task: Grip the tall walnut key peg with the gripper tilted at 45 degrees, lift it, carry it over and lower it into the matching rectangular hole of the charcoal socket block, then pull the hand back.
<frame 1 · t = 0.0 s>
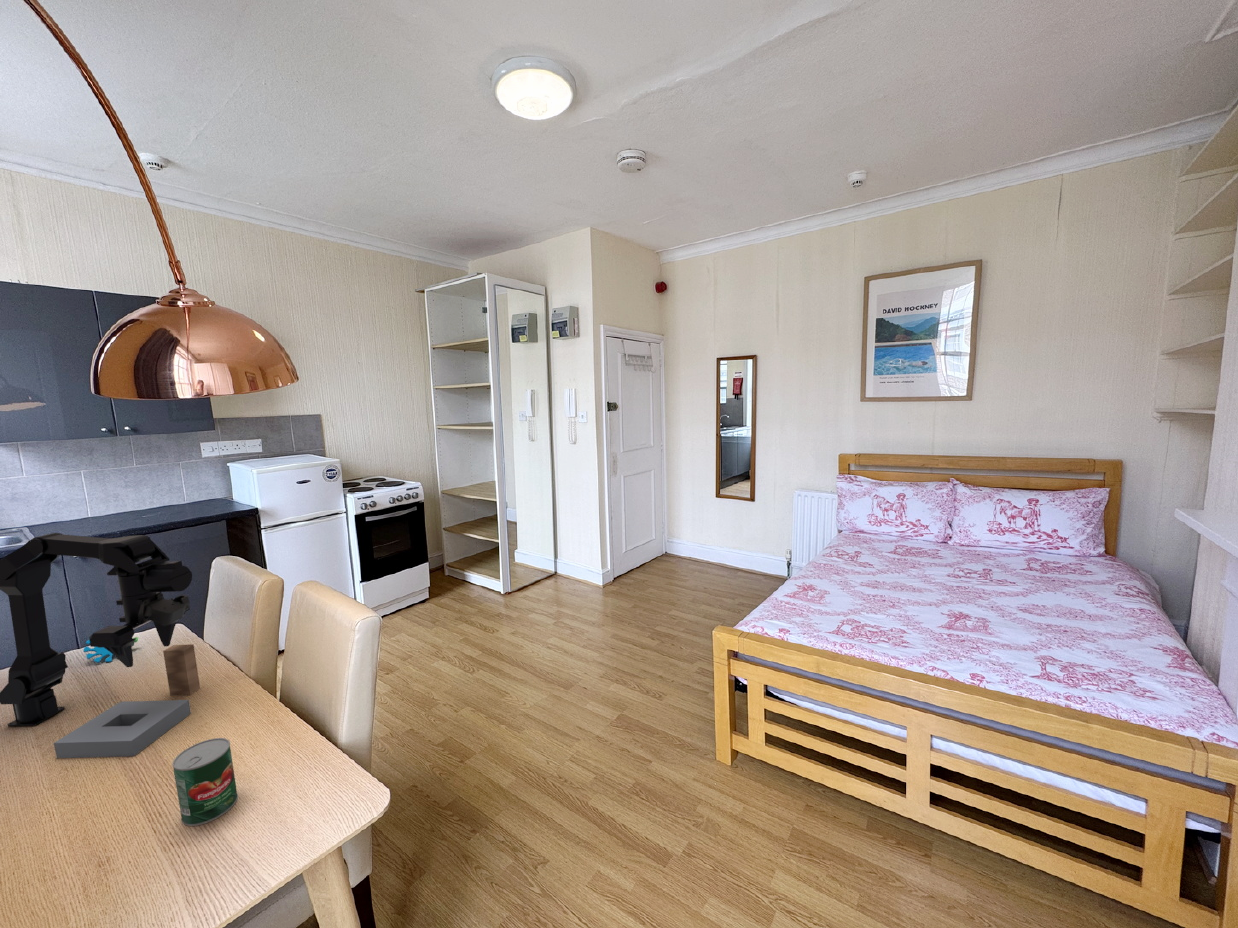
hand: (149, 656, 115), 15 cm above the table, tool pointing down, fingers open, 9 cm apart
walnut peg: (185, 691, 126), on the table
canned tomato: (210, 808, 89), on the table
socket block: (128, 734, 110), on the table
gear: (113, 657, 144), on the table
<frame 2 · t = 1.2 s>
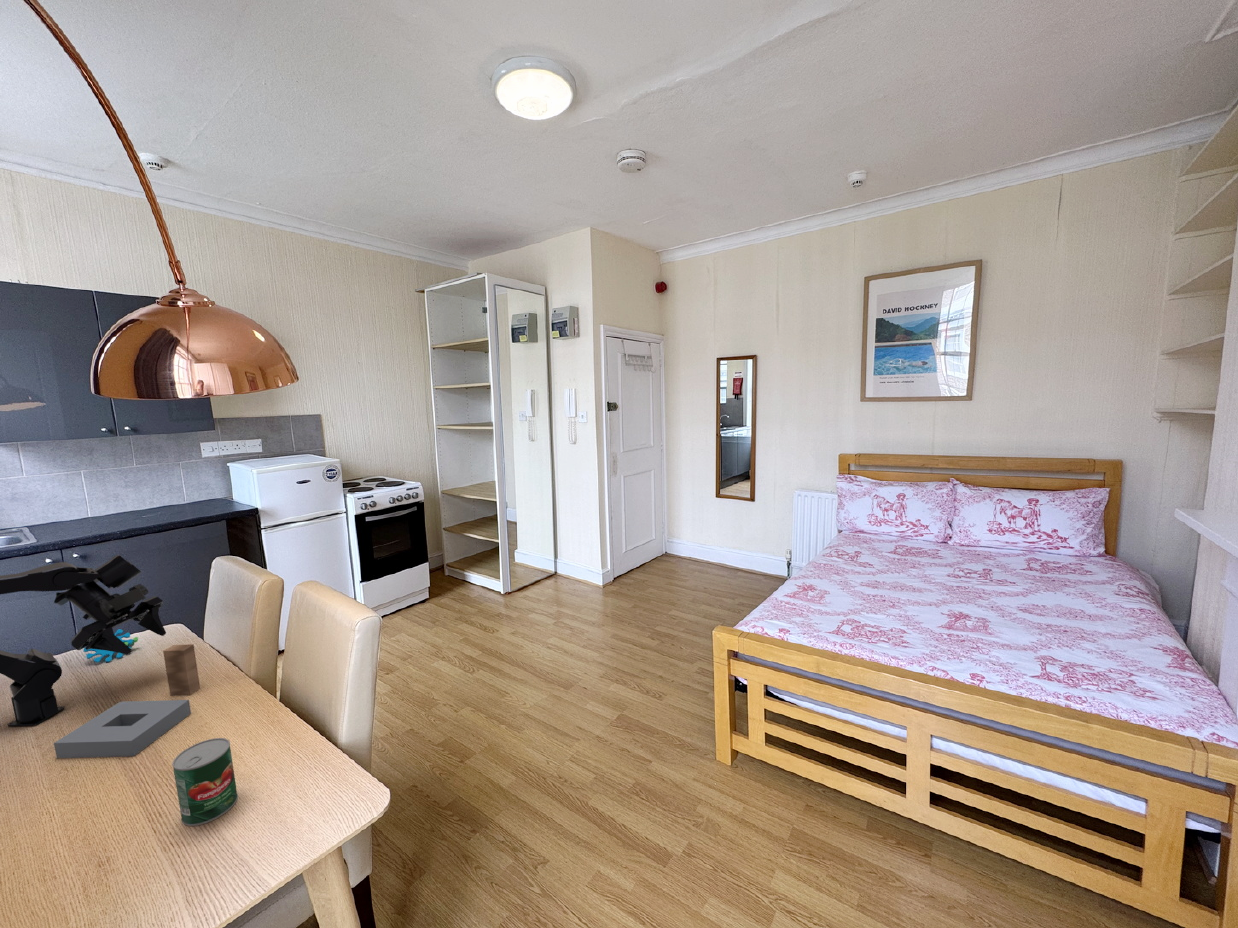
hand: (148, 643, 124), 13 cm above the table, tool tilted 45°, fingers open, 9 cm apart
nothing on the table moved.
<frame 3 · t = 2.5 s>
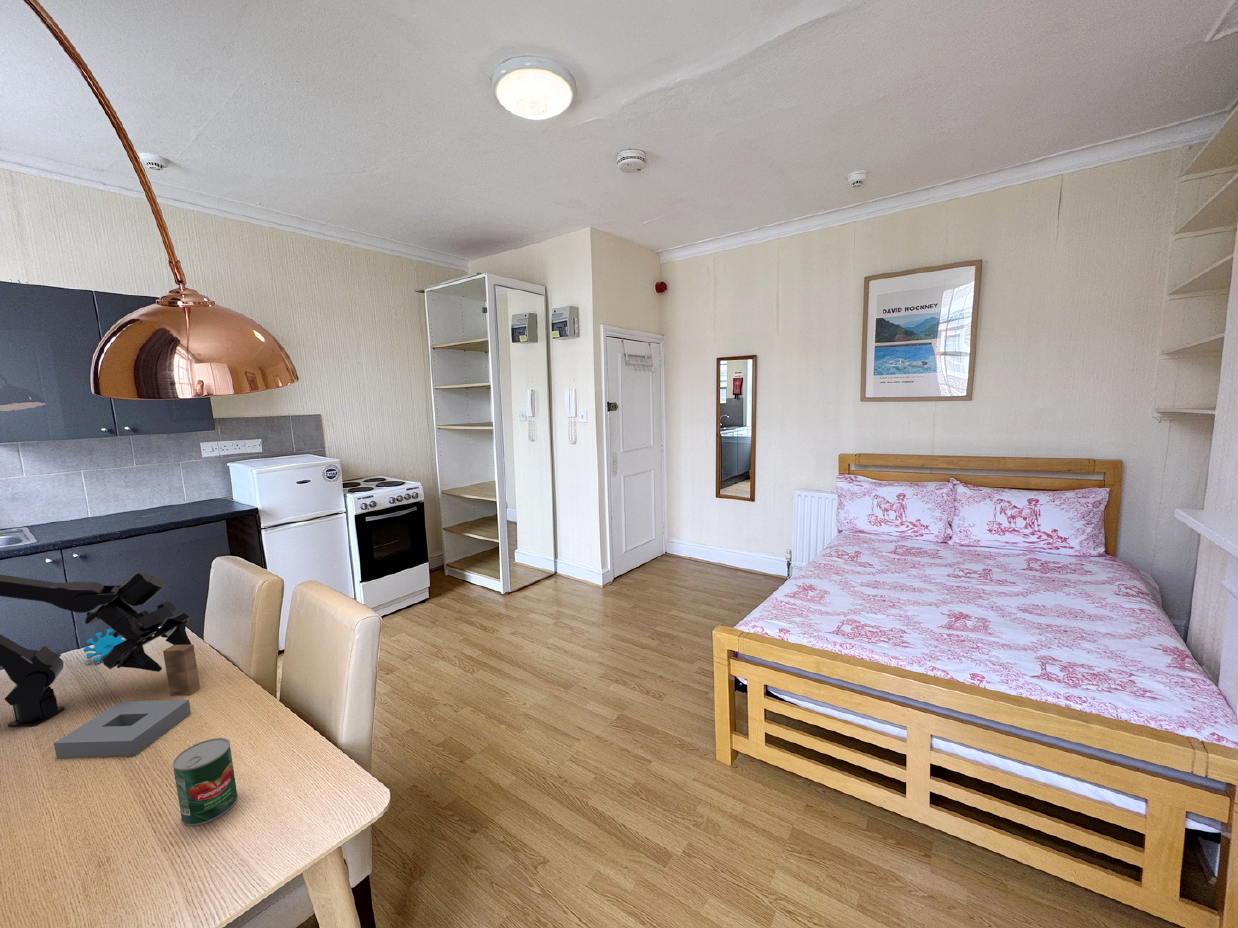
hand: (177, 660, 125), 9 cm above the table, tool tilted 45°, fingers open, 9 cm apart
nothing on the table moved.
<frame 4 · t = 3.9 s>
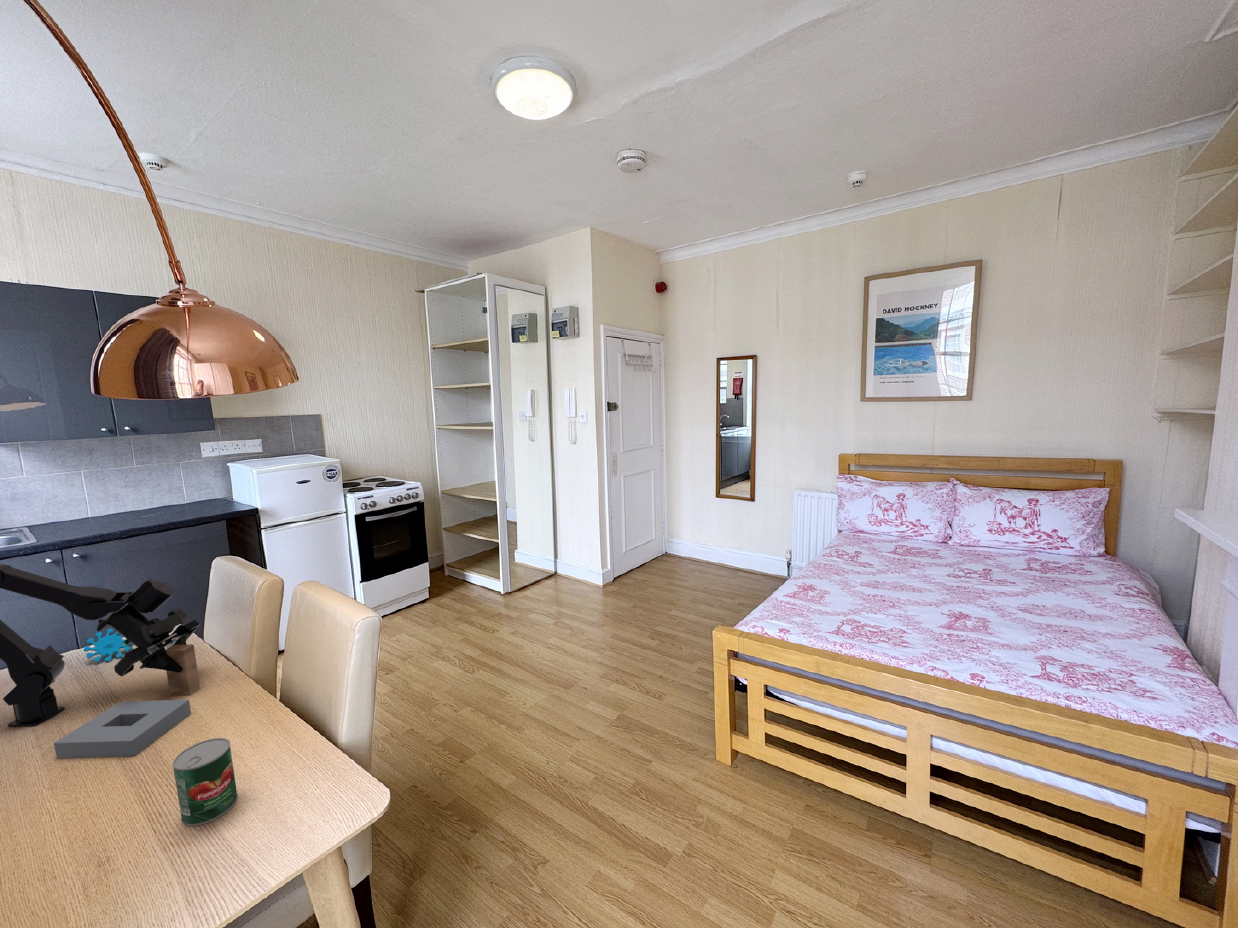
hand: (187, 667, 125), 7 cm above the table, tool tilted 45°, fingers closed on walnut peg, 3 cm apart
walnut peg: (185, 691, 126), on the table, touching gripper
everything else where it was.
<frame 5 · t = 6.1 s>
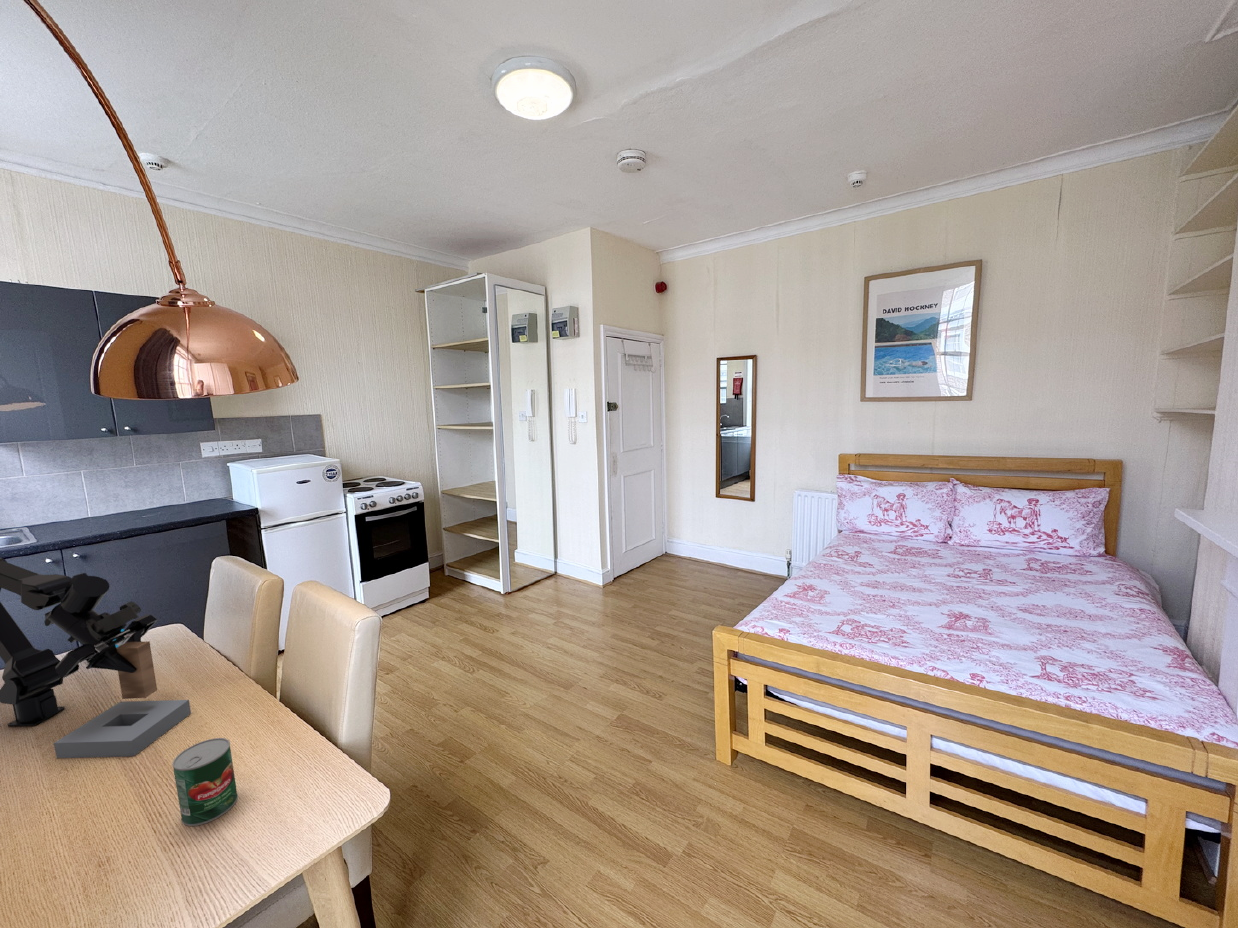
hand: (141, 667, 112), 14 cm above the table, tool tilted 45°, fingers closed on walnut peg, 3 cm apart
walnut peg: (140, 694, 113), point 7 cm above the table, touching gripper
everything else where it was.
when the fingers open (7 cm above the table, at t = 8.1 s): walnut peg stays where it is, resting in socket block.
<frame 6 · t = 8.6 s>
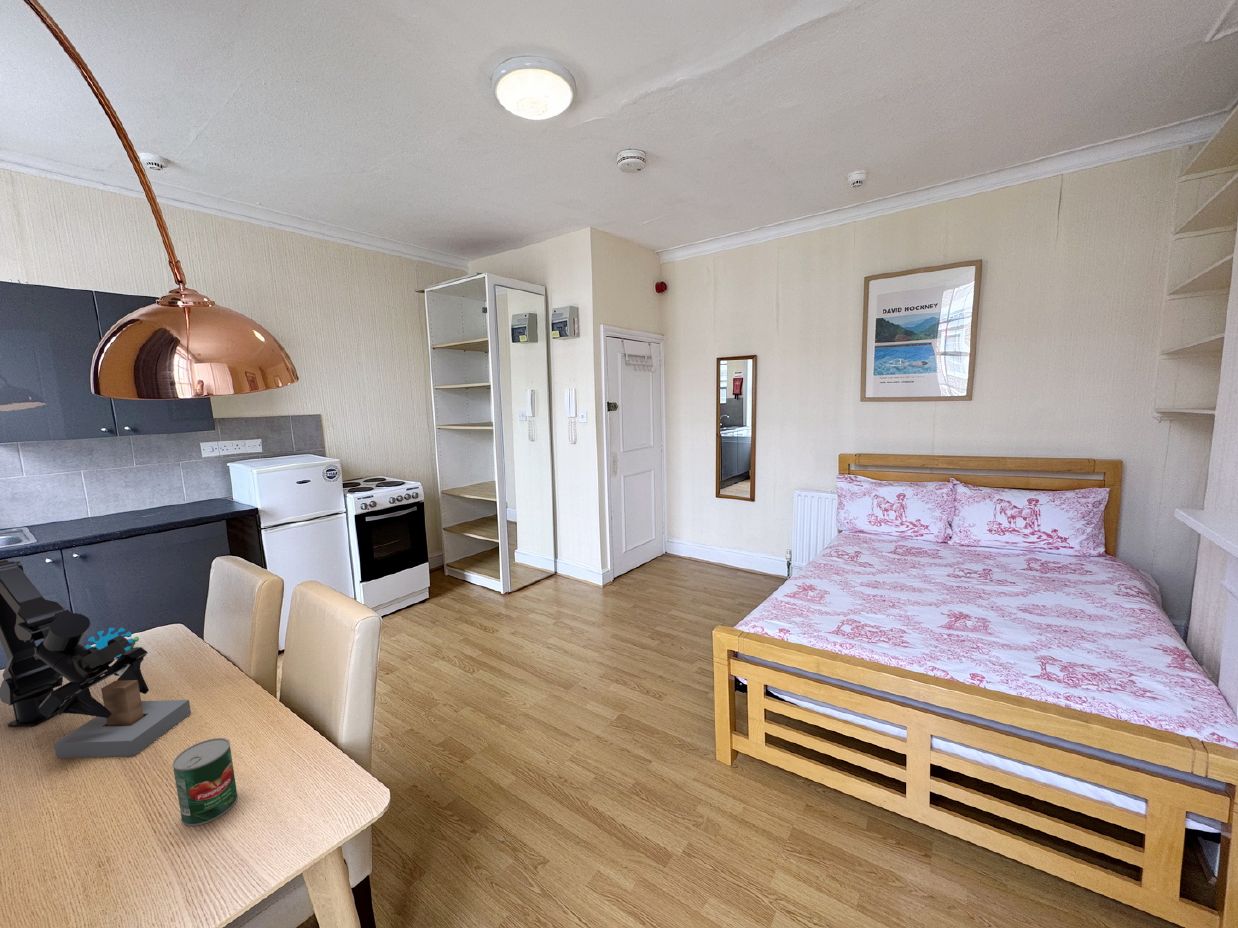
hand: (129, 703, 109), 7 cm above the table, tool tilted 45°, fingers open, 8 cm apart
walnut peg: (128, 734, 110), resting in socket block
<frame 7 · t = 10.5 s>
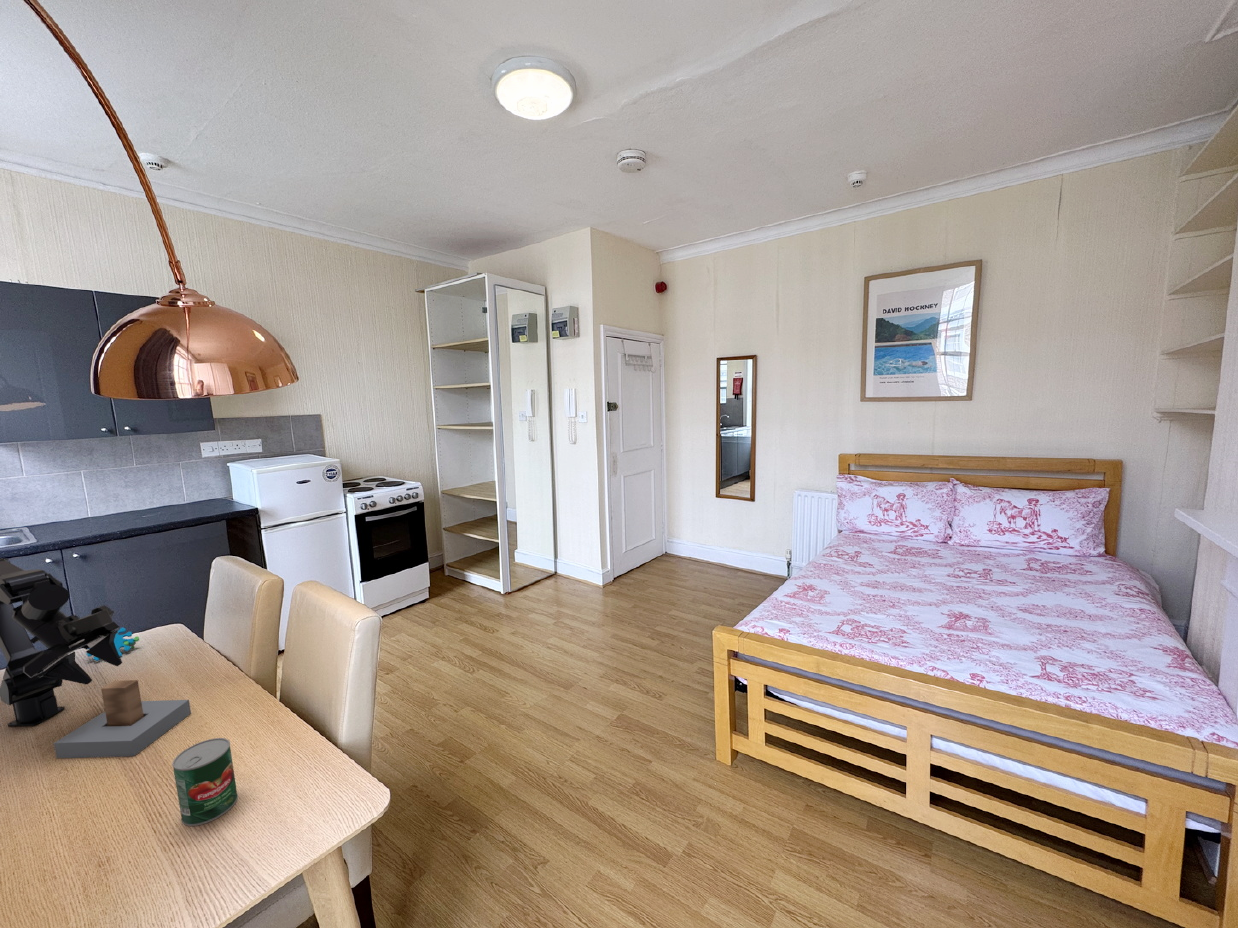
hand: (105, 673, 111), 13 cm above the table, tool tilted 35°, fingers open, 9 cm apart
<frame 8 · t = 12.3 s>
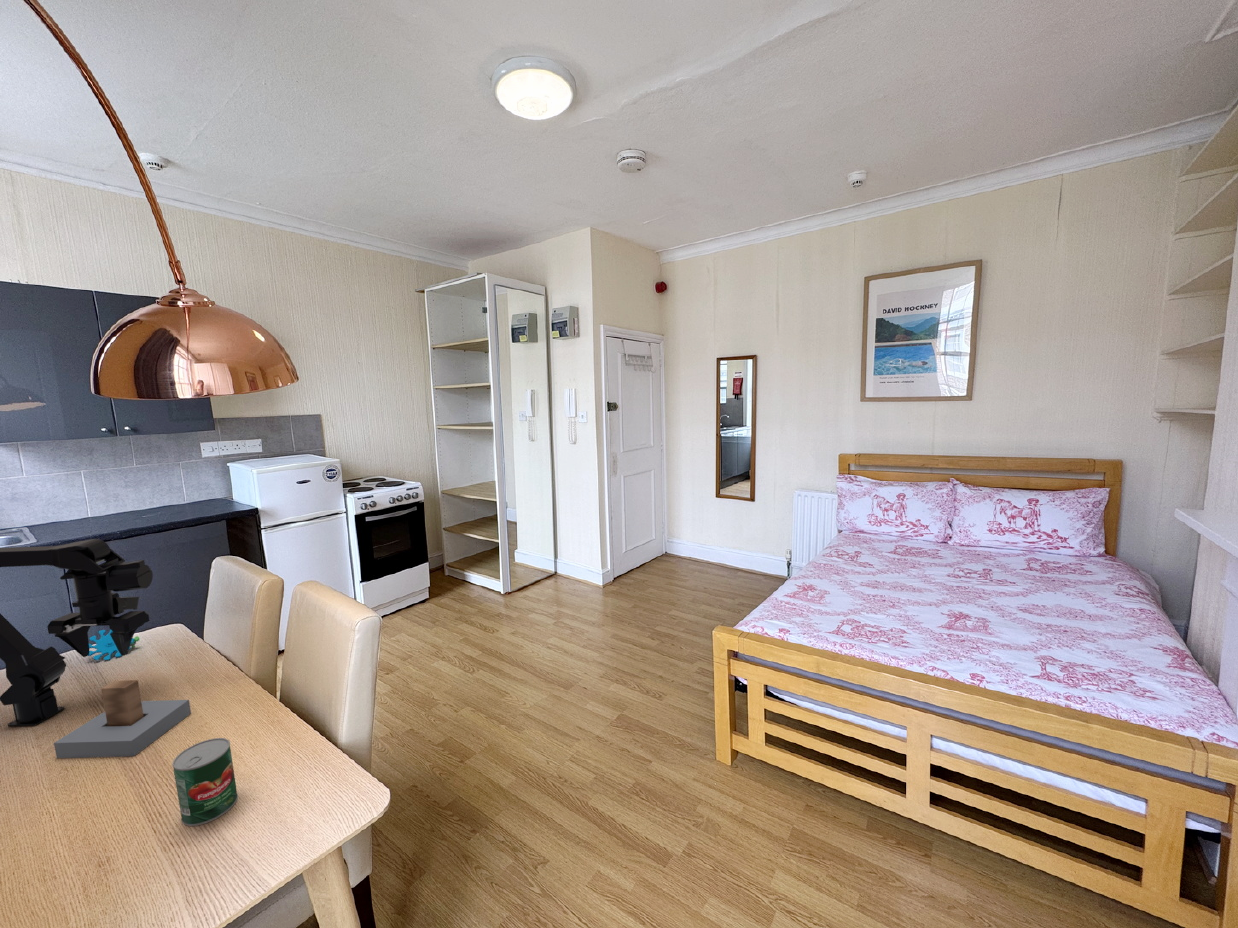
hand: (105, 655, 119), 13 cm above the table, tool pointing down, fingers open, 9 cm apart
at the end: walnut peg 0.0 cm off-centre on the socket block, point 0.0 cm above the socket block's base; walnut peg tilted 0°; the gripper is holding nothing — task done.
